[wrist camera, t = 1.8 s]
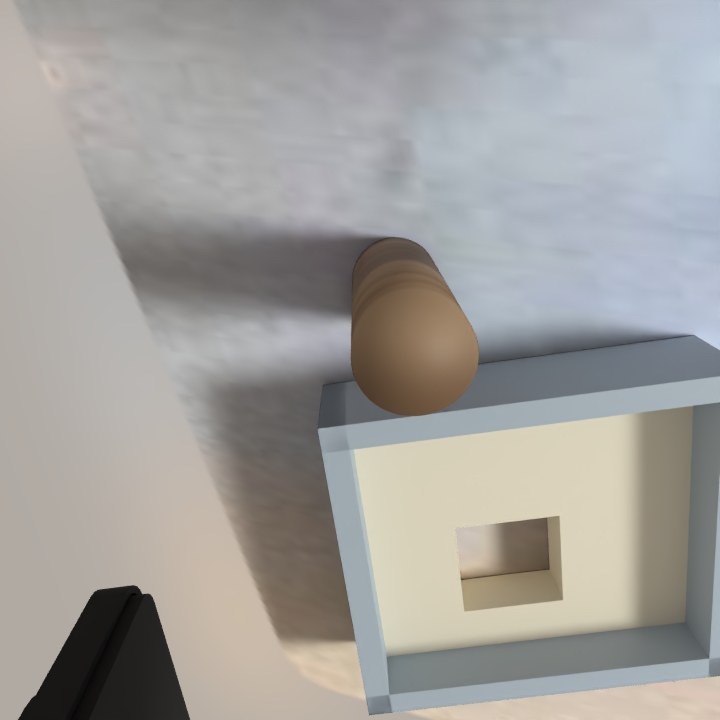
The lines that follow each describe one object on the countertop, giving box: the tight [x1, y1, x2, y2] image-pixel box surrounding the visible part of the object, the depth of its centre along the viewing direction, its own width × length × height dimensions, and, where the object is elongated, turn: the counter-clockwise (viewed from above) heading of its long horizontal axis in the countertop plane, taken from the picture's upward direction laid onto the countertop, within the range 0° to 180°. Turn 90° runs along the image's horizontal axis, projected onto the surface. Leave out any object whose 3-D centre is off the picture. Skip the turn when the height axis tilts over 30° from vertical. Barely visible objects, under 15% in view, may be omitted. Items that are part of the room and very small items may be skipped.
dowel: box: [351, 238, 479, 416], centre depth 25 cm, size 4×4×11 cm
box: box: [318, 335, 720, 715], centre depth 32 cm, size 16×18×5 cm
